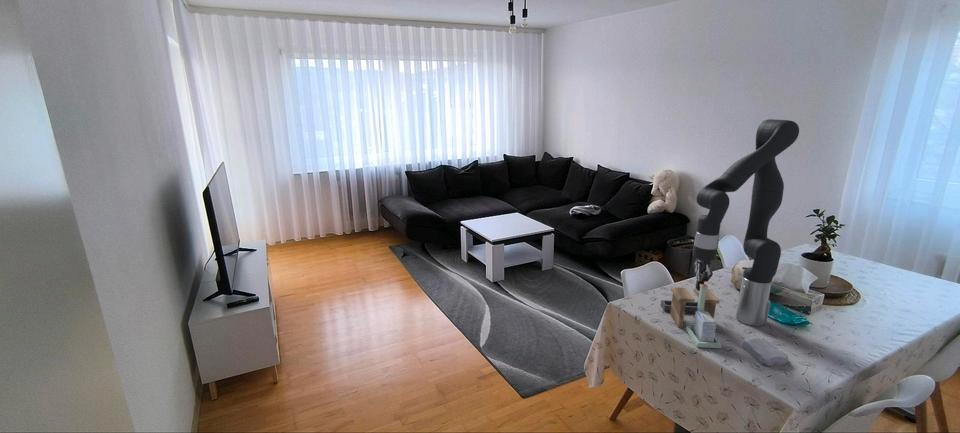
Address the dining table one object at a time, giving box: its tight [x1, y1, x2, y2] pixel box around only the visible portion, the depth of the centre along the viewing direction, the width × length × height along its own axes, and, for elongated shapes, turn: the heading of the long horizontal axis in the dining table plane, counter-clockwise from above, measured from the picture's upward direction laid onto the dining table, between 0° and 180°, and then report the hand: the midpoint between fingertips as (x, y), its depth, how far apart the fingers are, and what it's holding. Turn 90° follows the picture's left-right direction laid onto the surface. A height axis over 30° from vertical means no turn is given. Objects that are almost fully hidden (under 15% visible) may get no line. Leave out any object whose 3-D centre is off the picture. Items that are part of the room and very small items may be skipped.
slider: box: [685, 283, 722, 349], centre depth 151 cm, size 8×12×18 cm, turn 173°
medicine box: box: [692, 311, 717, 343], centre depth 153 cm, size 8×4×9 cm, turn 173°
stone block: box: [741, 337, 789, 367], centre depth 144 cm, size 12×5×10 cm
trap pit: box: [660, 299, 698, 314], centre depth 175 cm, size 15×5×2 cm, turn 83°
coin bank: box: [730, 259, 754, 291], centre depth 195 cm, size 16×17×13 cm
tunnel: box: [669, 286, 720, 329], centre depth 164 cm, size 14×10×12 cm
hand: (699, 289), depth 158 cm, fingers closed
